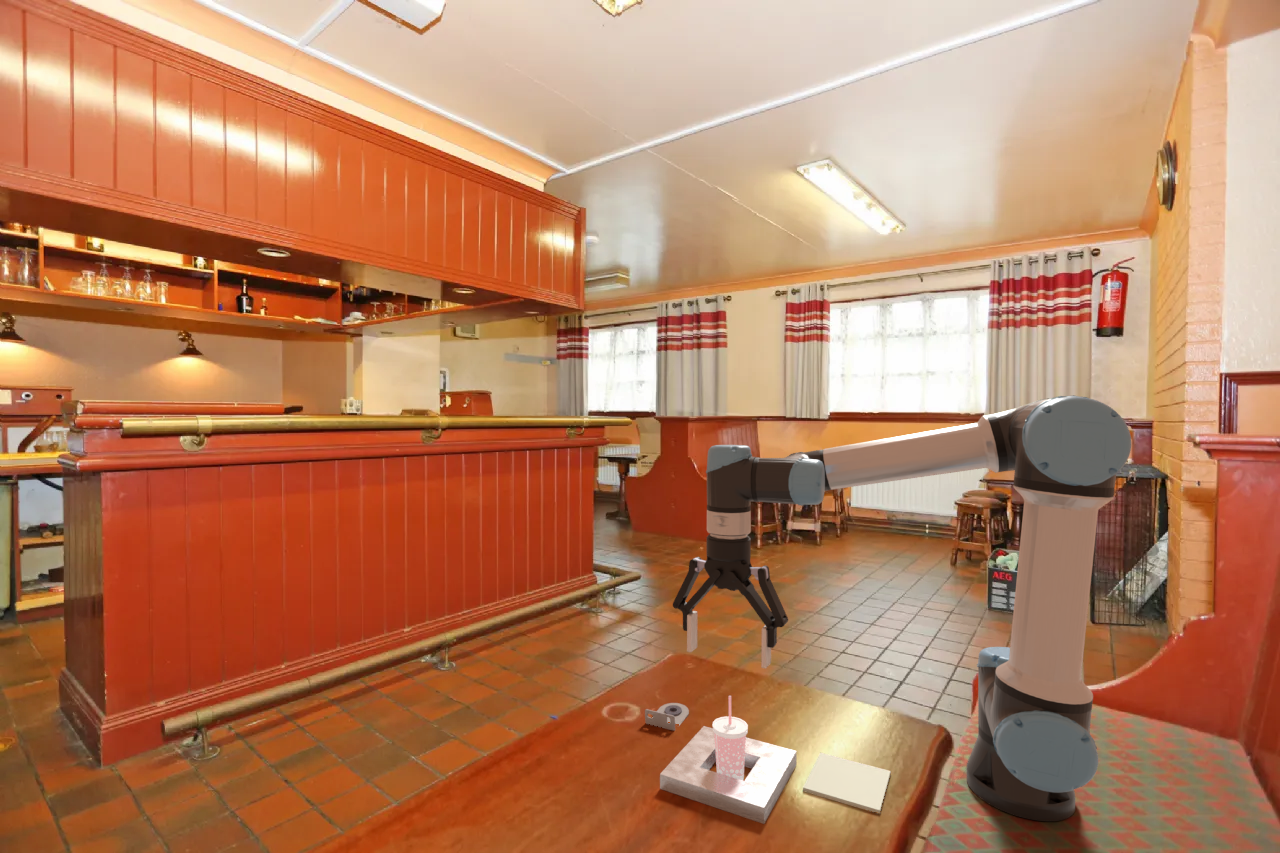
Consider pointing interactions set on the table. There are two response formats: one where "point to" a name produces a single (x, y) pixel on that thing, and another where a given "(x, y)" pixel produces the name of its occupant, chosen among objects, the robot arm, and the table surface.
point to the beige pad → (848, 782)
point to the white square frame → (726, 792)
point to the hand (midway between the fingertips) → (728, 657)
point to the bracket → (667, 715)
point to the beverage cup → (730, 745)
